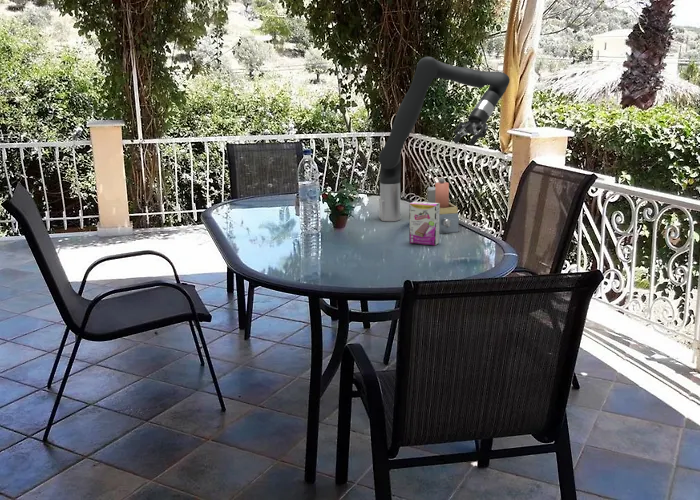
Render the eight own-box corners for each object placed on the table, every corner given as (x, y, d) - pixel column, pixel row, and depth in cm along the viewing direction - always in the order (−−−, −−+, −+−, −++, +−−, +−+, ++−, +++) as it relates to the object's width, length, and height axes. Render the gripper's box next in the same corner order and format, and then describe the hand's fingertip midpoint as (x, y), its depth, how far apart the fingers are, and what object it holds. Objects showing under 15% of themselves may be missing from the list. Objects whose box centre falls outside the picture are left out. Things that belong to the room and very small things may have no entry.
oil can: (437, 212, 275) (437, 179, 271) (434, 210, 280) (433, 178, 277) (450, 211, 275) (450, 179, 272) (446, 209, 281) (446, 177, 277)
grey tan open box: (434, 235, 271) (435, 210, 268) (423, 226, 287) (423, 202, 284) (460, 233, 273) (460, 208, 270) (447, 224, 288) (448, 201, 286)
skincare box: (446, 220, 297) (446, 185, 292) (446, 223, 290) (447, 188, 285) (427, 220, 297) (427, 186, 293) (427, 223, 291) (428, 188, 286)
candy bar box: (408, 243, 259) (408, 203, 254) (413, 240, 263) (413, 200, 259) (435, 246, 254) (436, 205, 250) (439, 243, 259) (440, 202, 254)
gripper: (464, 106, 277) (445, 136, 273) (491, 107, 266) (472, 138, 262) (472, 118, 281) (454, 148, 277) (498, 120, 271) (480, 150, 267)
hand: (462, 143), depth 270 cm, fingers open, 8 cm apart
